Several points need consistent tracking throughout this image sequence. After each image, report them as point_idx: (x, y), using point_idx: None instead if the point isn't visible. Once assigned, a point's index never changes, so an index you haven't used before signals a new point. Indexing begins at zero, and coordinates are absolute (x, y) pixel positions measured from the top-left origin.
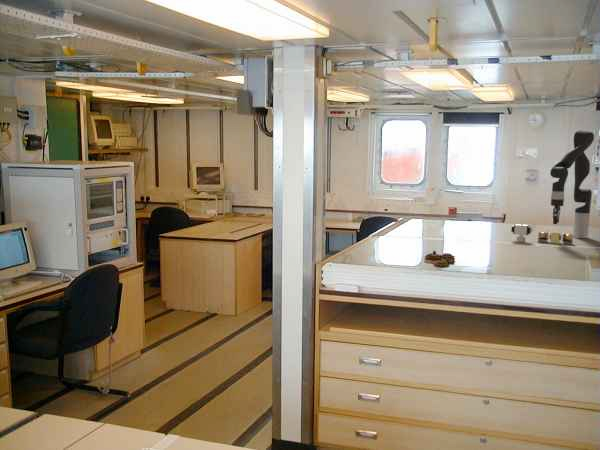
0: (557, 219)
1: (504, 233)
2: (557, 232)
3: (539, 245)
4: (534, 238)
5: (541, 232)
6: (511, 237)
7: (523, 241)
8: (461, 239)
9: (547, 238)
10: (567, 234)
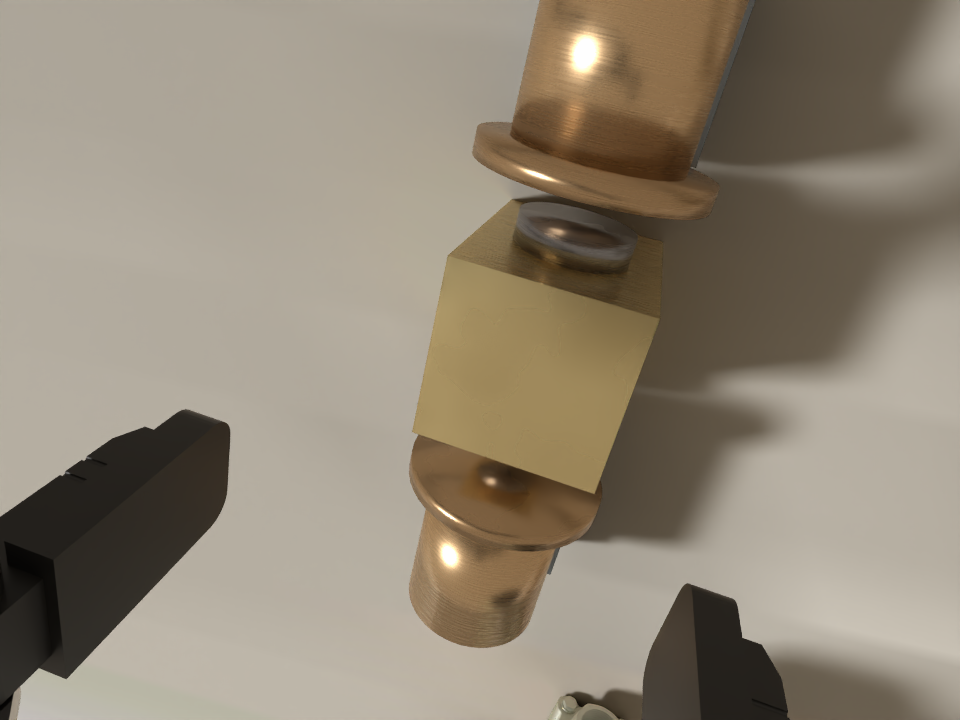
0: (144, 523)
1: None
2: (533, 342)
3: (955, 608)
4: None
5: (489, 613)
6: (266, 717)
7: (575, 702)
8: None
9: None
10: (654, 78)
